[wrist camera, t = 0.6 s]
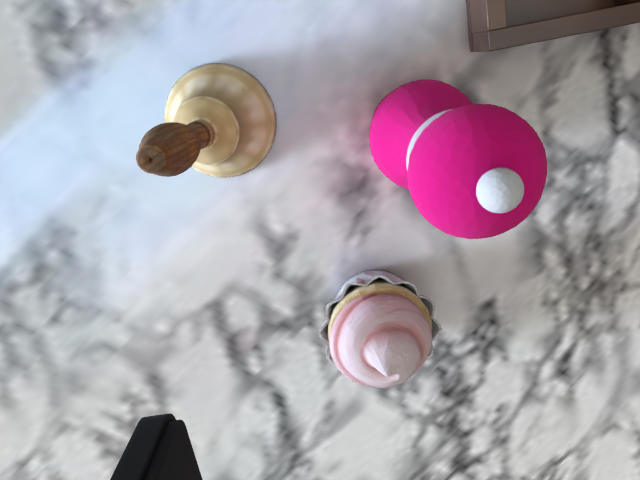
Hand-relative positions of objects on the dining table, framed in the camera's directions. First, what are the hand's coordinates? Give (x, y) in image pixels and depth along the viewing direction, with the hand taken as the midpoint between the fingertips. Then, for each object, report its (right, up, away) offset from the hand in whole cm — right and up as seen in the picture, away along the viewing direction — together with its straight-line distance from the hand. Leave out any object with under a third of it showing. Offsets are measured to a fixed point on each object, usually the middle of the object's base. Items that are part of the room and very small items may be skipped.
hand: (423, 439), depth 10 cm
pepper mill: (+5, +12, +28) cm, 31 cm away
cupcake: (+3, -1, +33) cm, 33 cm away
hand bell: (-9, +13, +28) cm, 32 cm away
